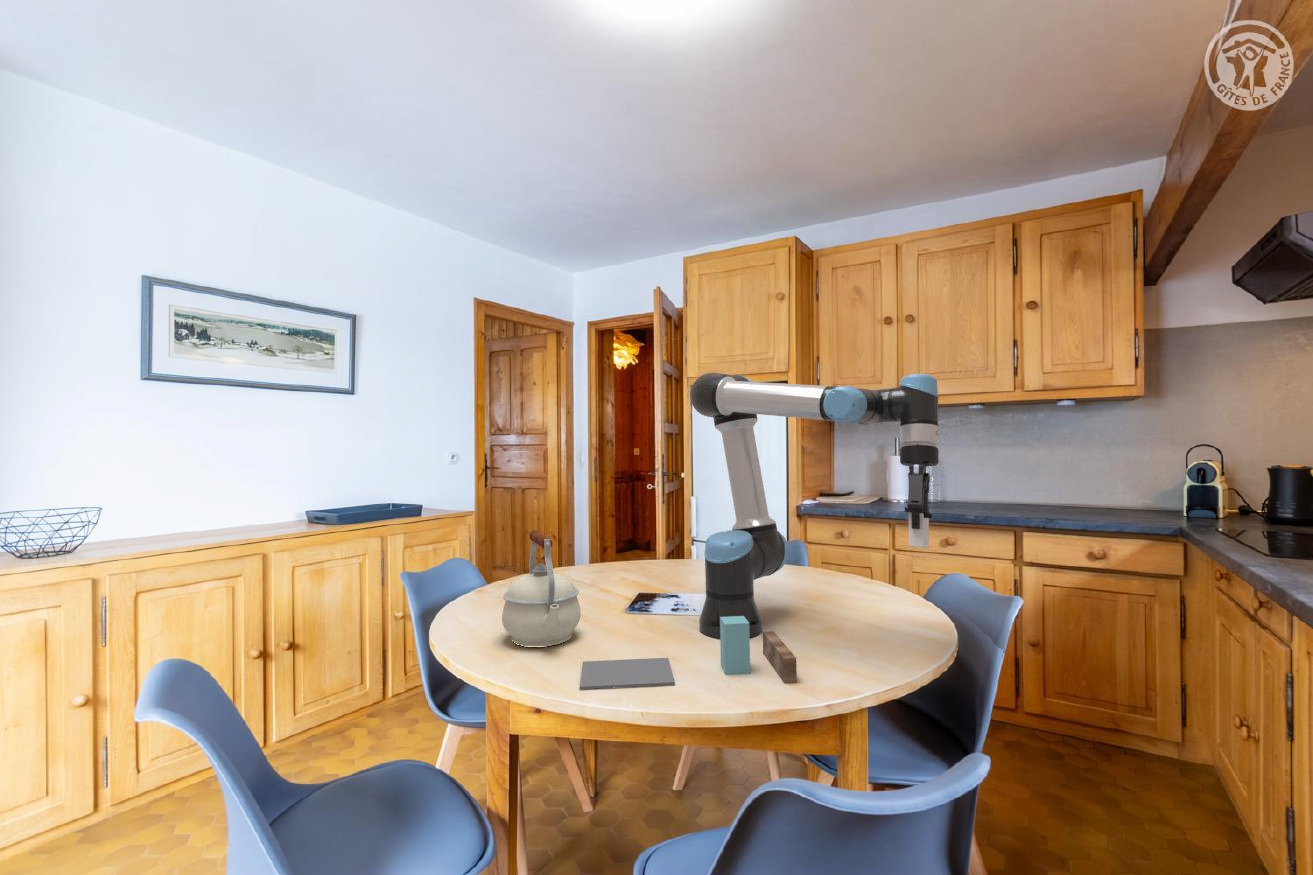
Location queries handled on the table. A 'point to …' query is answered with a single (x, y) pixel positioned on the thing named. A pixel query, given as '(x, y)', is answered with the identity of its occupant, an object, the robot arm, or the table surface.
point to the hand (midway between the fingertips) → (919, 547)
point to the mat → (626, 673)
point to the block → (735, 645)
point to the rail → (779, 657)
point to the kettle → (541, 602)
